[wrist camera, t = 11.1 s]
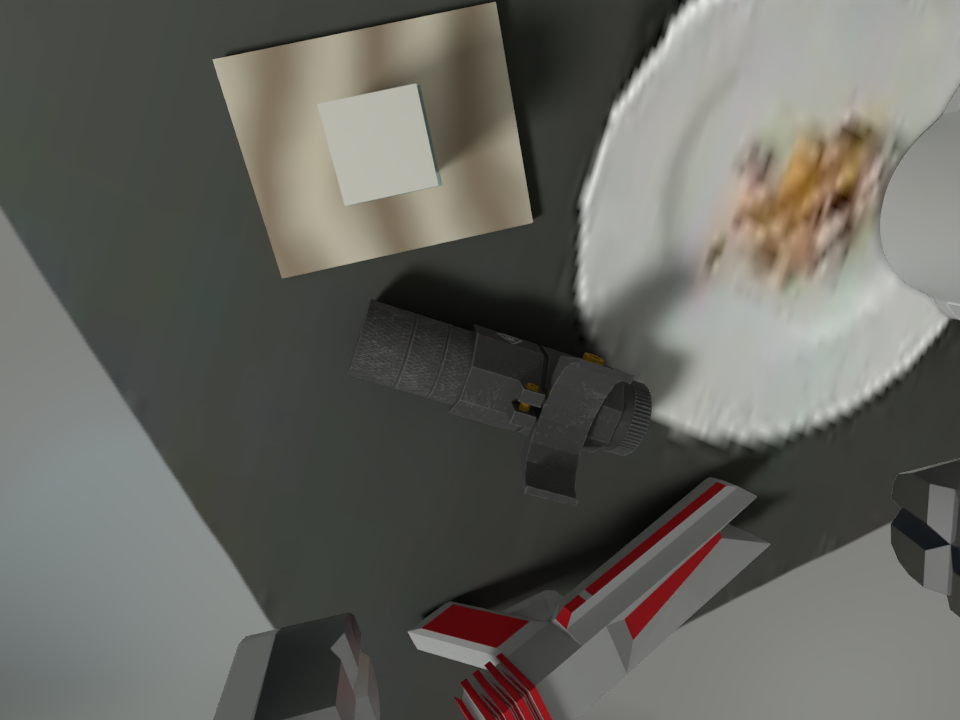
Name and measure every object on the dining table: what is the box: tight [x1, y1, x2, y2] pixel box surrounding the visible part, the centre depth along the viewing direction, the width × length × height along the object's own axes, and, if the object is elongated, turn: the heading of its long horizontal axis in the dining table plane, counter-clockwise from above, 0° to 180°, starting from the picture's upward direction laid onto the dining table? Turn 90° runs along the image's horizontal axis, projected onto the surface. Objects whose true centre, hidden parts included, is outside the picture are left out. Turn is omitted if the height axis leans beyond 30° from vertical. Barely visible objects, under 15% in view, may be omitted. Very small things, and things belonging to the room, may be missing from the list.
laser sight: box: [347, 299, 652, 506], centre depth 43 cm, size 10×22×10 cm, turn 70°
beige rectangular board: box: [213, 2, 533, 278], centre depth 41 cm, size 18×14×1 cm
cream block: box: [317, 83, 439, 206], centre depth 33 cm, size 5×5×5 cm
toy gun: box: [407, 477, 770, 720], centre depth 51 cm, size 7×28×15 cm, turn 112°
